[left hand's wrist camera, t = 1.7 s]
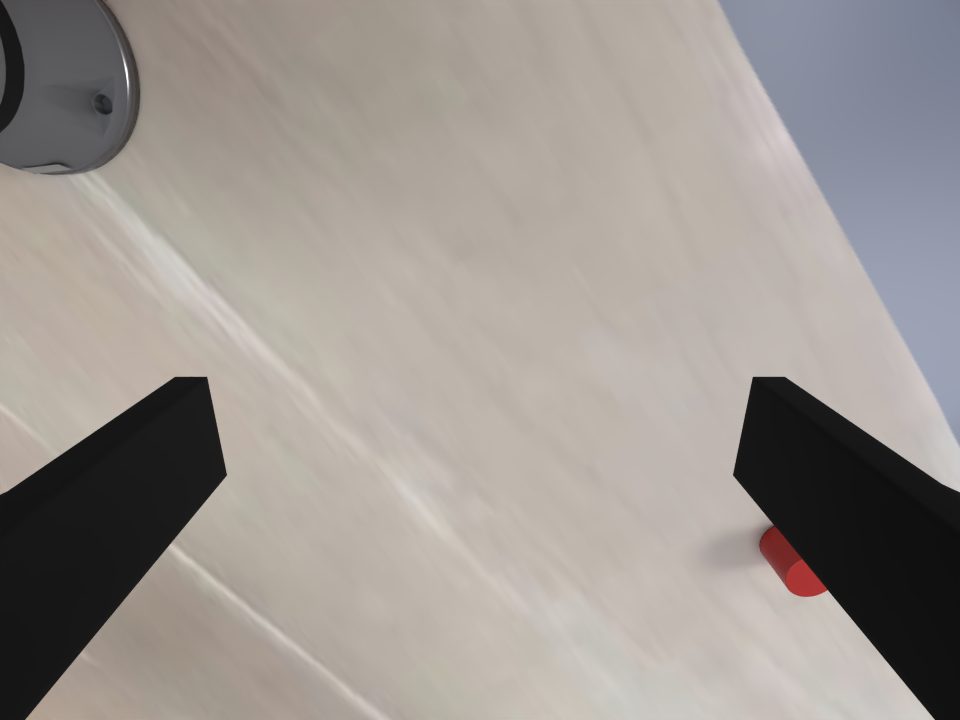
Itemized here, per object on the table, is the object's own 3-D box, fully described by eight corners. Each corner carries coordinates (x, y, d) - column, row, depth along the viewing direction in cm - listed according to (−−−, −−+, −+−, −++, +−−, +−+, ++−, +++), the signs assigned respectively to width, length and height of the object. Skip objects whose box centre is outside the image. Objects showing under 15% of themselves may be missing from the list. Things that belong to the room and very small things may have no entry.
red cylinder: (750, 540, 55) (775, 574, 50) (793, 514, 54) (823, 547, 49) (774, 569, 56) (801, 605, 52) (817, 544, 55) (848, 579, 50)
